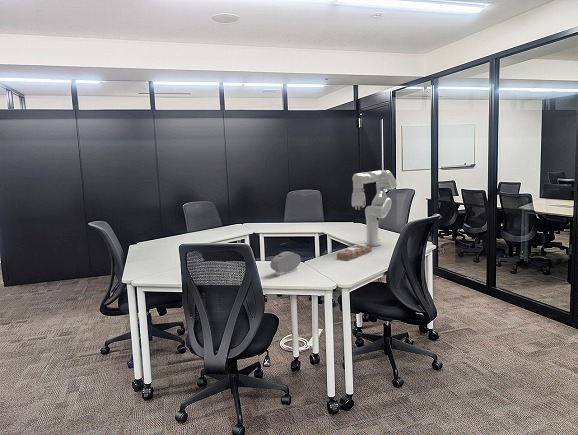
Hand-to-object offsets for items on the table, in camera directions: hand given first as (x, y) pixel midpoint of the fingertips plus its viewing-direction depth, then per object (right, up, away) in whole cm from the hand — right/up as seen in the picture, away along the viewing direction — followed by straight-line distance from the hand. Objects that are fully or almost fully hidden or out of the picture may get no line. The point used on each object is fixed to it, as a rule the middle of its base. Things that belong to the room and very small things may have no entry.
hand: (358, 214), depth 325 cm
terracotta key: (-3, -28, -12) cm, 31 cm away
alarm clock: (-55, -37, -55) cm, 86 cm away
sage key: (+2, -26, -6) cm, 27 cm away
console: (-5, -30, -14) cm, 33 cm away
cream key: (-8, -28, -19) cm, 34 cm away
